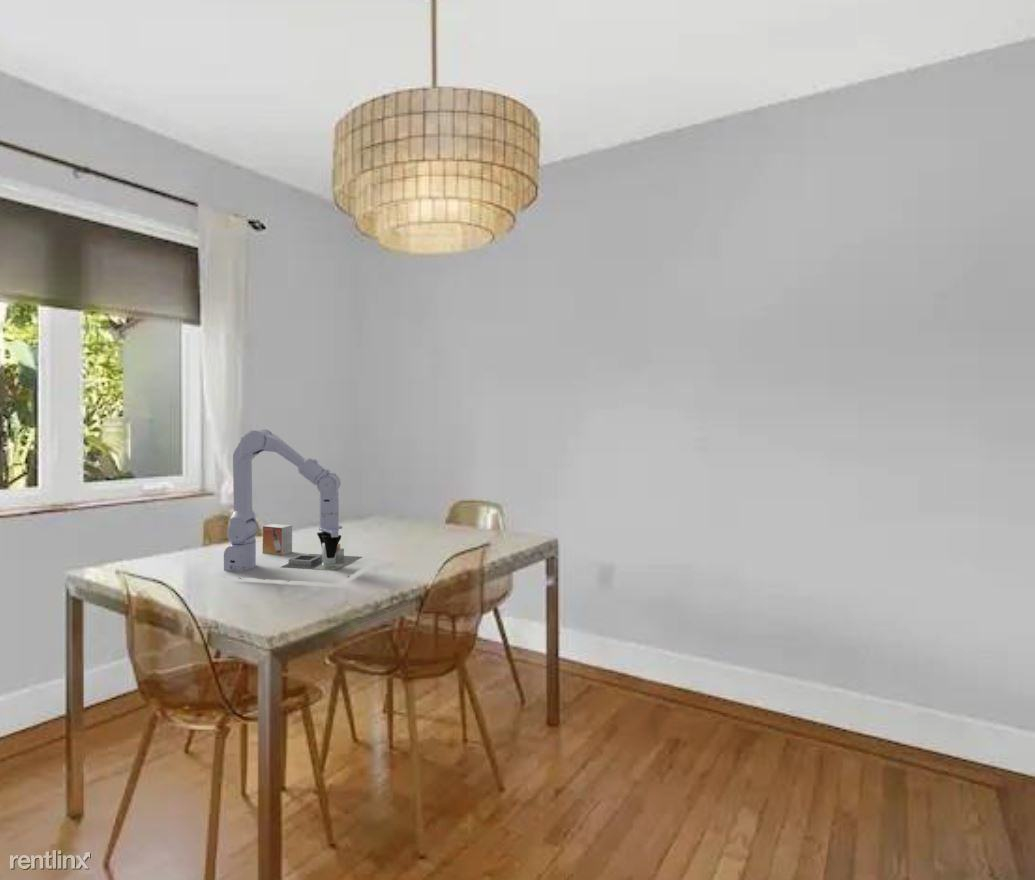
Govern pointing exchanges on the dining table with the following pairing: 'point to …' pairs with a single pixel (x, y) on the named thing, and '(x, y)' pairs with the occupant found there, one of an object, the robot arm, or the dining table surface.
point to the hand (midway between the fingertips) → (329, 556)
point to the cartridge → (324, 557)
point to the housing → (320, 561)
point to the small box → (277, 539)
